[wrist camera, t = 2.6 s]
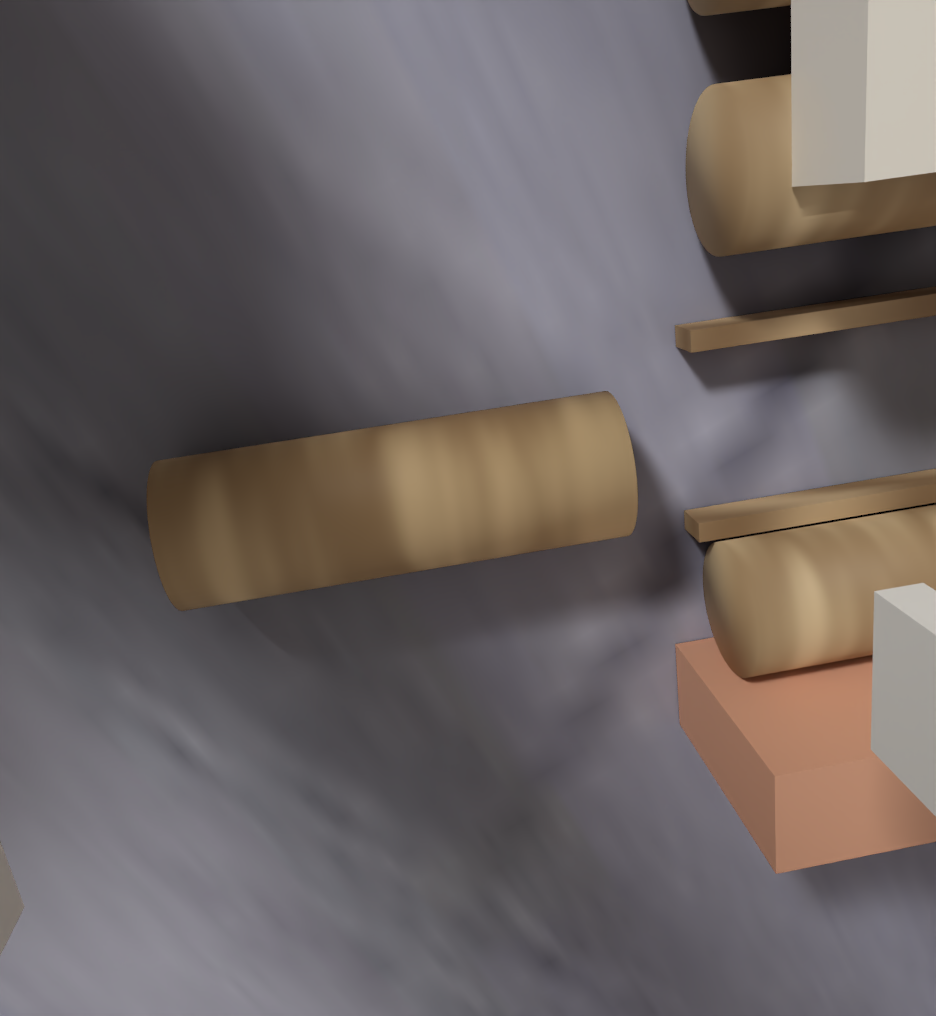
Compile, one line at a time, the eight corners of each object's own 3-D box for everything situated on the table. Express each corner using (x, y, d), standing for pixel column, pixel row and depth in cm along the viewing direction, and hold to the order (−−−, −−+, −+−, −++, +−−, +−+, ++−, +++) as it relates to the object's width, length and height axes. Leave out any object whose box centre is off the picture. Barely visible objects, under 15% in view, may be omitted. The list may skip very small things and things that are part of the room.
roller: (201, 570, 26) (177, 639, 22) (167, 441, 24) (135, 492, 20) (599, 504, 26) (641, 560, 23) (591, 376, 25) (633, 413, 21)
